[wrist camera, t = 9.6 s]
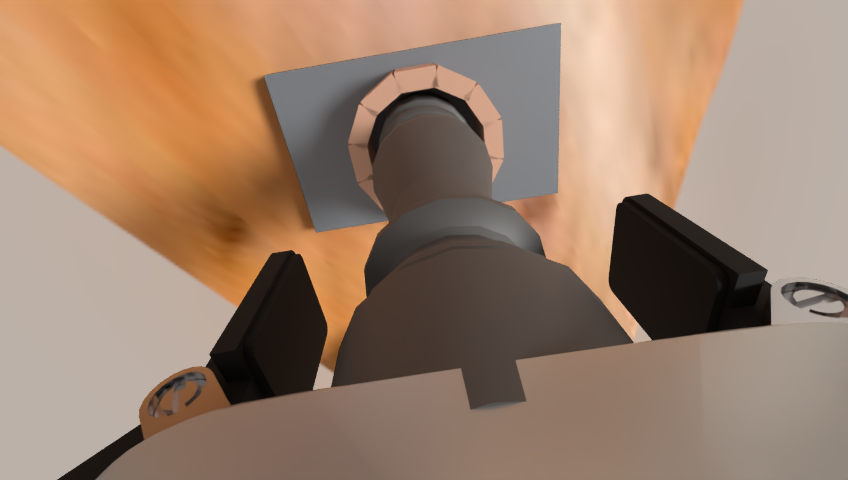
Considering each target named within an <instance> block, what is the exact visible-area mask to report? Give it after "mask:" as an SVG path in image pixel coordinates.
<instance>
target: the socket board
mask: <svg viewBox="0 0 848 480" xmlns="http://www.w3.org/2000/svg"><path fill="white" fill-rule="evenodd" d="M560 46H561V23H557V24H551V25H545V26H539V27H534V28H528V29H522V30H517V31H511V32H505V33H500V34H494V35H488V36H483V37H477V38H471V39H466V40H460V41H454V42H449V43H443V44H437V45H432V46H426V47H420V48H415V49H409V50H403V51H398V52H392V53H386V54H381V55H375V56H369V57H364V58H358V59H352V60H347V61H341V62H335V63H330V64H324V65H318V66H313V67H307V68H301V69H296V70H290V71H284V72H279V73H273V74H268V75H264V78H265V81H266V84H267V87H268V90H269V93H270V96H271V99H272V102H273V105H274V108H275V111H276V114H277V117H278V120H279V123H280V126H281V129H282V132H283V135H284V138H285V141H286V144H287V147H288V150H289V153H290V156H291V159H292V162H293V165H294V168H295V171H296V174H297V177H298V180H299V183H300V186H301V189H302V192H303V195H304V198H305V201H306V204H307V207H308V210H309V213H310V216H311V219H312V222H313V225H314V228H315V231H316V232H323V231H329V230H335V229H341V228H347V227H353V226H359V225H365V224H371V223H377V222H384V221H389V220H388V218H387V216H386V214H385V212H384V210H383V208H382V206H381V204H380V202H379V200H378V198H377V196H376V194H375V192H374V188H373V173H372V167H373V163H374V160H375V158H376V155H377V152H378V149H379V136H380V132H381V128H382V125H383V122H384V120H385V117H386V114H387V112H388V111H389V110H390V109H391V107H392V106H393V105H394V104H395V103H396V102H397V101H398V100H399V99H401V98H403V97H405V96H408V95H410V94H412V93H414V92H432V93H435V94H437V95H439V96H441V97H444V98H446V99H448V100H449V101H450V103H451V104H452V105H453V106H454V107H455V108H456V109H457V110H458V111H459V112H460V114H461V115H462V116H463V117H464V118H465V120H466V122H467V124H468V125H469V127H470V128H471V129H472V130H473V131H474V132H475V133H476V134H477V135H478V136H479V137H480V139H481V140H482V141H483V142H484V143H485V144H486V148H487V151H488V154H489V157H490V160H491V163H492V166H493V172H492V199H494V200H496V201H499V202H505V201H512V200H518V199H524V198H530V197H536V196H542V195H548V194H554V193H558V151H559V98H560Z"/></svg>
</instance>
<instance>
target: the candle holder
mask: <svg viewBox="0 0 848 480" xmlns="http://www.w3.org/2000/svg"><path fill="white" fill-rule="evenodd" d="M492 172H493V166H492V163H491V160H490V157H489V154H488V151H487V148H486V144H485V143H484V142H483V141H482V140H481V139H480V137H479V136H478V135H477V134H476V133H475V132H474V131H473V130H472V129H471V128H470V127H469V125H468V124H467V122H466V120H465V118H464V117H463V116H462V115H461V114H460V112H459V111H458V110H457V109H456V108H455V107H454V106H453V105H452V104H451V103H450V101H449V100H448V99H446V98H444V97H441V96H439V95H437V94H435V93H432V92H414V93H412V94H410V95H408V96H405V97H403V98H401V99H399V100H398V101H397V102H396V103H395V104H394V105H393V106H392V107H391V109H390V110H389V111H388V112H387V114H386V117H385V120H384V122H383V125H382V128H381V132H380V136H379V149H378V152H377V155H376V158H375V160H374V163H373V167H372V173H373V188H374V192H375V194H376V196H377V198H378V200H379V202H380V204H381V206H382V208H383V210H384V212H385V214H386V216H387V218H388V220H389V223H388V224H387V225H386V226H385V227H384V228H383V229H382V230H381V231H380V232H379V233H378V234H377V237H376V239H375V242H374V245H373V247H372V250H371V252H370V255H369V257H368V260H367V262H366V265H365V269H364V273H365V284H366V296H367V298H366V299H365V300H364V301H363V302H362V303H360V304H359V305H358V306H357V307H356V309H355V311H354V314H353V316H352V319H351V321H350V323H349V326H348V328H347V331H346V333H345V336H344V338H343V341H342V343H341V346H340V348H339V352H338V357H337V362H336V367H335V371H334V376H333V381H332V386H331V387H338V386H344V385H351V384H358V383H364V382H371V381H377V380H384V379H391V378H397V377H404V376H411V375H418V374H425V373H432V372H439V371H446V370H452V369H459V368H461V371H462V375H463V379H464V384H465V388H466V392H467V396H468V401H469V406H470V410H472V409H478V408H485V407H492V406H498V405H505V404H512V403H518V402H525V401H526V397H525V393H524V390H523V386H522V382H521V379H520V375H519V371H518V368H517V364H516V361H515V360H520V359H527V358H534V357H541V356H548V355H555V354H562V353H569V352H575V351H582V350H589V349H596V348H603V347H610V346H617V345H624V344H631V343H634V342H633V341H632V340H631V338H630V337H629V336H628V335H627V333H626V332H625V331H624V329H623V328H622V327H621V326H620V324H619V323H618V322H617V320H616V319H615V318H614V317H613V315H612V314H611V313H610V311H609V310H608V309H607V308H606V306H605V305H604V304H603V302H602V301H601V300H600V299H599V298H598V297H597V296H596V295H595V294H594V293H593V292H592V290H591V289H590V288H589V287H588V286H587V285H586V284H585V283H584V282H583V281H582V280H581V279H580V278H579V277H578V276H577V275H576V274H575V273H574V272H573V271H572V270H571V269H570V268H569V267H568V266H565V265H563V264H560V263H557V262H554V261H551V260H549V259H546V256H545V253H544V250H543V246H542V243H541V239H540V236H539V235H538V233H537V232H536V231H535V230H534V229H533V228H532V227H531V226H530V225H529V224H528V223H527V222H526V221H525V219H524V218H523V217H522V216H521V215H520V214H519V213H518V212H517V211H516V210H515V209H514V208H513V207H512V206H509V205H507V204H504V203H501V202H499V201H496V200H494V199H492Z"/></svg>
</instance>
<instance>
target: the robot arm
mask: <svg viewBox="0 0 848 480" xmlns="http://www.w3.org/2000/svg"><path fill="white" fill-rule="evenodd" d="M767 271H768V270H767V269H765V268H764V267H762V266H761V265H759V264H757V263H756V262H754V261H753V260H751V259H750V258H748V257H746V256H745V255H743V254H742V253H740V252H739V251H737V250H736V249H734V248H732V247H731V246H729V245H728V244H726V243H725V242H723V241H721V240H720V239H718V238H717V237H715V236H714V235H712V234H710V233H709V232H707V231H706V230H704V229H703V228H701V227H700V226H698V225H696V224H695V223H693V222H692V221H690V220H689V219H687V218H685V217H684V216H682V215H681V214H679V213H678V212H676V211H675V210H673V209H671V208H670V207H668V206H667V205H665V204H664V203H662V202H660V201H659V200H657V199H656V198H654V197H653V196H651V195H649V194H642V195H635V196H629V197H625V198H624V199H623V201H622V203H619V204H618V205H617V208H616V216H615V226H614V235H613V244H612V253H611V262H610V271H609V285H610V288H611V290H612V292H613V293H614V294H615V295H616V297H617V298H618V299H619V300H620V301H621V303H622V304H623V305H624V306H625V308H626V309H627V310H628V311H629V312H630V314H631V315H632V316H633V317H634V319H635V320H636V321H637V322H638V323H639V325H640V326H641V327H642V328H643V330H644V331H645V332H646V333H647V334H648V336H649V337H650V338H651V339H652V341H646V342H638V343H631V344H624V345H617V346H610V347H603V348H596V349H589V350H582V351H575V352H569V353H562V354H555V355H548V356H541V357H534V358H527V359H520V360H515V361H516V364H517V368H518V371H519V375H520V379H521V382H522V386H523V390H524V393H525V397H526V401H525V402H518V403H512V404H505V405H498V406H492V407H485V408H478V409H472V410H470V406H469V401H468V396H467V392H466V388H465V384H464V379H463V375H462V371H461V368H459V369H452V370H446V371H439V372H432V373H425V374H418V375H411V376H404V377H397V378H391V379H384V380H377V381H371V382H364V383H358V384H351V385H344V386H338V387H331V388H325V389H318V390H313V386H314V382H315V379H316V374H317V371H318V367H319V363H320V360H321V356H322V352H323V348H324V344H325V340H326V337H327V323H326V320H325V317H324V314H323V312H322V309H321V306H320V304H319V301H318V298H317V296H316V293H315V290H314V288H313V285H312V282H311V279H310V277H309V274H308V271H307V269H306V266H305V263H304V261H303V258H302V256H301V255H300V254H295V253H294V251H292V250H290V251H284V252H278V253H272V254H271V255H270V257H269V258H268V260H267V262H266V263H265V265H264V266H263V268H262V270H261V271H260V273H259V275H258V276H257V278H256V279H255V281H254V283H253V284H252V286H251V288H250V289H249V291H248V292H247V294H246V296H245V297H244V299H243V301H242V302H241V304H240V305H239V307H238V309H237V310H236V312H235V313H234V315H233V317H232V318H231V320H230V322H229V323H228V325H227V326H226V328H225V330H224V331H223V333H222V335H221V336H220V338H219V339H218V341H217V343H216V344H215V346H214V348H213V349H212V351H211V352H210V356H211V359H210V360H209V362H208V364H207V365H206V367H202V366H201V367H191V368H188V369H185V370H182V371H180V372H177V373H175V374H173V375H171V376H170V377H168V378H167V379H165V380H164V381H162V382H161V383H160V384H158V385H157V386H156V387H155V388H154V389H153V390H152V391H151V392H150V393H149V394H148V396H147V397H146V398H145V399H144V401H143V403H142V405H141V407H140V410H139V419H140V423H141V424H140V425H139V426H137V427H136V428H134V429H133V430H131V431H130V432H128V433H127V434H125V435H124V436H122V437H121V438H119V439H118V440H116V441H115V442H113V443H112V444H110V445H109V446H107V447H106V448H104V449H103V450H101V451H100V452H98V453H97V454H95V455H94V456H92V457H91V458H89V459H88V460H86V461H85V462H83V463H82V464H80V465H79V466H77V467H76V468H74V469H73V470H71V471H70V472H68V473H67V474H65V475H64V476H62V477H61V478H59V479H58V480H848V289H846V288H843V287H841V286H838V285H835V284H832V283H828V282H824V281H820V280H816V279H808V278H786V279H781V280H778V281H776V282H775V283H773V285H771V284H769V283H768V282H766V281H765V280H764V279H765V277H766V274H767Z"/></svg>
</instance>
